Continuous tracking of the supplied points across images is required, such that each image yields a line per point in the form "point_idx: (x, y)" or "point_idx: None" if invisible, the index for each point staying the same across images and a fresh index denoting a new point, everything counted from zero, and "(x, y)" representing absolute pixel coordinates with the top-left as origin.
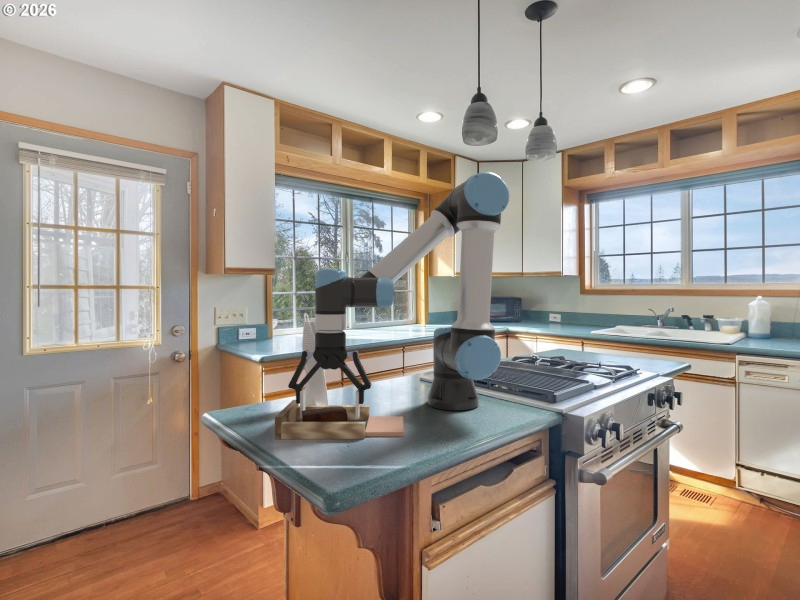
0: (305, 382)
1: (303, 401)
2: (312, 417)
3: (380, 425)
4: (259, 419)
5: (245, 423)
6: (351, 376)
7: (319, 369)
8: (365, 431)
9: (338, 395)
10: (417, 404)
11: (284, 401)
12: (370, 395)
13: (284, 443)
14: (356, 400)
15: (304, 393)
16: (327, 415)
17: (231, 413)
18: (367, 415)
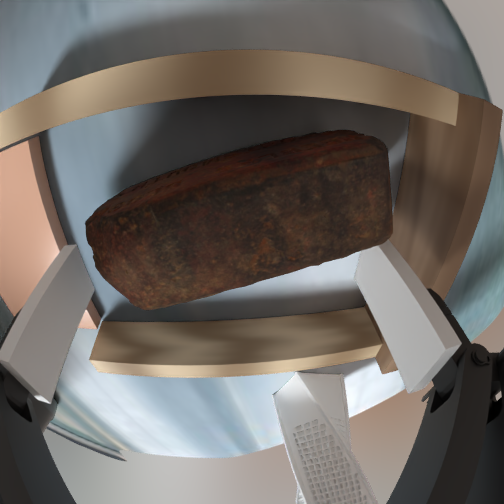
0: (460, 422)
1: (405, 301)
2: (314, 148)
3: (14, 235)
4: (452, 296)
5: (482, 263)
6: (2, 480)
7: (318, 495)
8: (28, 149)
9: (262, 435)
10: (69, 397)
11: (376, 398)
12: (192, 437)
13: (389, 29)
14: (27, 315)
15: (414, 358)
16: (203, 178)
17: (479, 320)
18: (103, 334)
